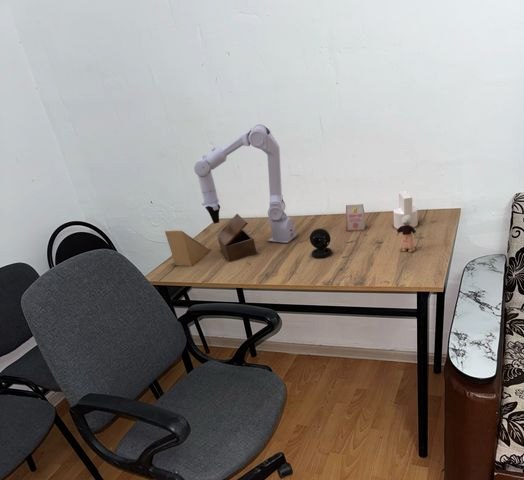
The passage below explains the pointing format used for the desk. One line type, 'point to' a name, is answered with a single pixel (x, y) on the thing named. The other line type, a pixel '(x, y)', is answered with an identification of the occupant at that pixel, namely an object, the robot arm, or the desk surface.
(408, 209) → the cylinder with rectangular tab
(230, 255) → the walnut box
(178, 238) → the sandwich container
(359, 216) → the grey printed box
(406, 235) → the grandmother figurine
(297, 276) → the desk surface
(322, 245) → the webcam
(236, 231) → the lid
